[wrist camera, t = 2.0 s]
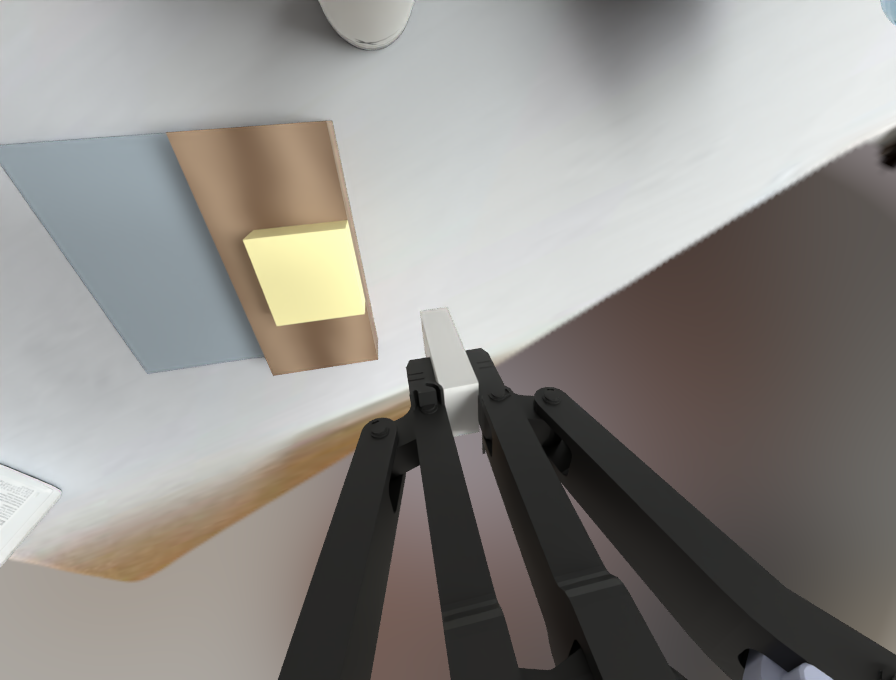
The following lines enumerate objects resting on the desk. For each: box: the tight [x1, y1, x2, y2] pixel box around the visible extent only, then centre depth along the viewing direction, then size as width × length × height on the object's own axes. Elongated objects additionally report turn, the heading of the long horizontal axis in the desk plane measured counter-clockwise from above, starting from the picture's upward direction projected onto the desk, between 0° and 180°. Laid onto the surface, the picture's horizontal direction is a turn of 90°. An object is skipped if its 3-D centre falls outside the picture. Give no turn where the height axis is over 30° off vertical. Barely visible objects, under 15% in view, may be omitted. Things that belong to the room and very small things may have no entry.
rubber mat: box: [0, 133, 264, 374], centre depth 30 cm, size 13×20×1 cm, turn 3°
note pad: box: [243, 220, 365, 326], centre depth 27 cm, size 7×7×2 cm
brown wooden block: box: [166, 121, 378, 376], centre depth 30 cm, size 10×20×4 cm, turn 3°
